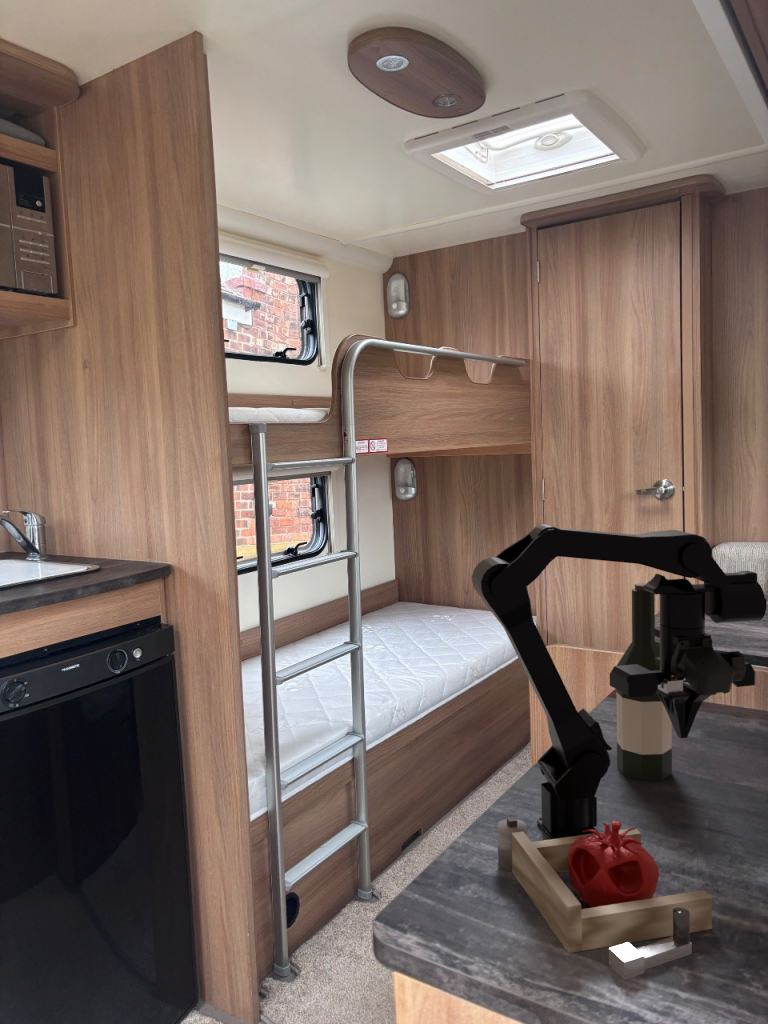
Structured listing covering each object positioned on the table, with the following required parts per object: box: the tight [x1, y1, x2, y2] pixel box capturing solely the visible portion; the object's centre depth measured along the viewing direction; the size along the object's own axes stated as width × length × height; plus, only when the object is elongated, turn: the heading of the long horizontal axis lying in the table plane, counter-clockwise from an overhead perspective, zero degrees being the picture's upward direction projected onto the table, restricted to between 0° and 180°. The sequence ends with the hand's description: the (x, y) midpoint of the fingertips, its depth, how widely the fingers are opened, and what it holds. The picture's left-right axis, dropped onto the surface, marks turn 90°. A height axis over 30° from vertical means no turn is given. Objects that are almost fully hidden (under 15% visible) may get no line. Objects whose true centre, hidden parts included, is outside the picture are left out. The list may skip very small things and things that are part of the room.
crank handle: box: [608, 907, 693, 980], centre depth 79 cm, size 9×2×4 cm, turn 111°
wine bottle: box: [615, 582, 673, 782], centre depth 123 cm, size 8×8×30 cm
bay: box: [497, 816, 713, 954], centre depth 91 cm, size 18×20×6 cm
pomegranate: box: [567, 820, 660, 908], centre depth 89 cm, size 10×10×9 cm
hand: (682, 737), depth 106 cm, fingers closed
